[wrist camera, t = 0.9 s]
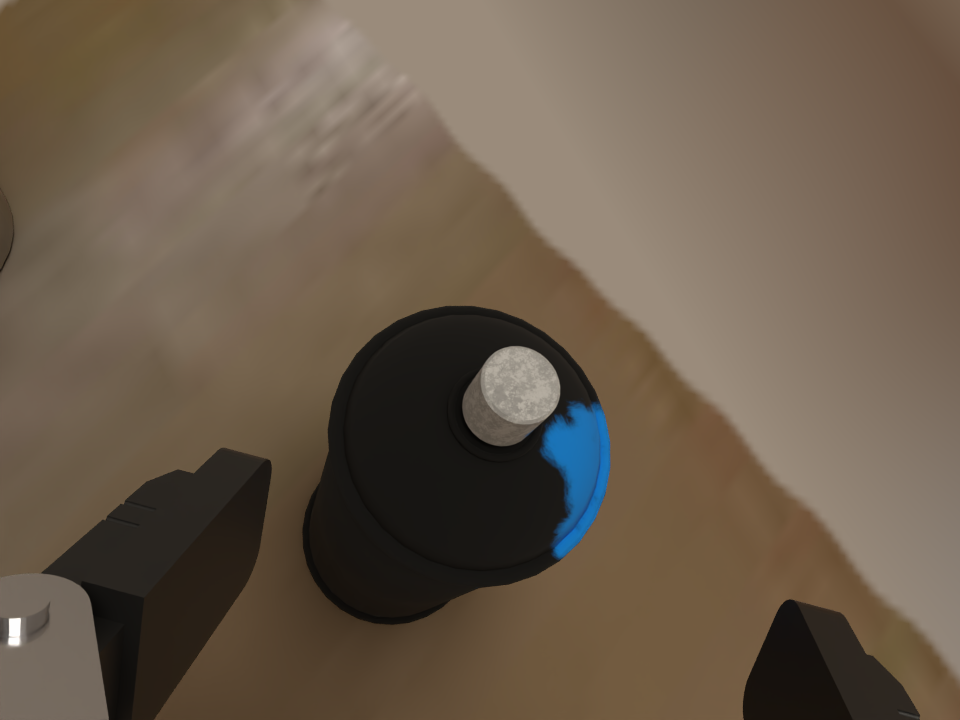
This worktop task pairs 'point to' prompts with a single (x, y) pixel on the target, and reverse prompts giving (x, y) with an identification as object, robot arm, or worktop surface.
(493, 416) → the aerosol can
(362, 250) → the worktop surface
